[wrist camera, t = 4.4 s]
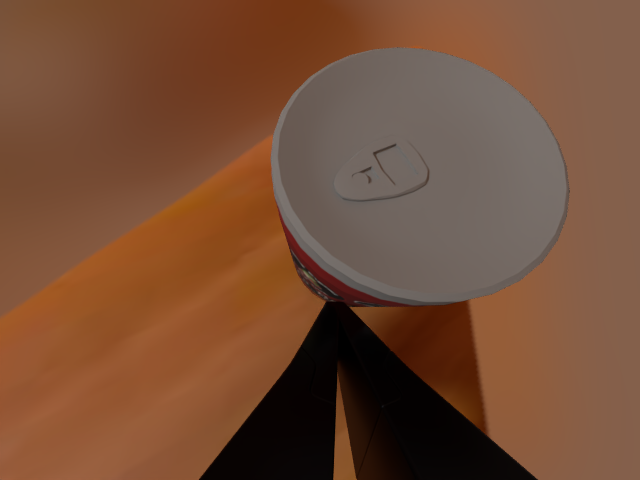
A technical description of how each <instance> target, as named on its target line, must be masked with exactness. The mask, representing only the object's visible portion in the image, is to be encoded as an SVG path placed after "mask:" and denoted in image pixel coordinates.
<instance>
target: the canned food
mask: <svg viewBox="0 0 640 480" xmlns="http://www.w3.org/2000/svg"><path fill="white" fill-rule="evenodd" d="M271 165H272V180H273V188H274V195H275V200H276V203H277V207H278V211H279V216H280V220H281V223H282V226H283V229H284V233H285V236H286V239H287V242H288V245H289V249H290V252H291V255H292V258H293V262H294V265H295V268H296V270H297V273H298V275H299V277H300V279H301V280H302V282H303V283H304V285H305V286H306V287H307V288H308V289H309V290H310V291H311V292H312V293H313V294H314V295H316V296H317V297H319V298H320V299H322V300H324V301H335V302H336V301H341V302H344V303H345V304H346V305H347V306H348V307H406V306H427V305H447V304H451V303H456V302H460V301H464V300H469V299H473V298H477V297H482V296H486V295H490V294H493V293H496V292H498V291H500V290H501V289H503V288H506V287H508V286H510V285H512V284H514V283H516V282H518V281H520V280H521V279H523V278H524V277H525V276H526V275H527V274H528V273H530V272H531V271H532V270H533V269H534V268H535V267H537V266H538V265H539V264H540V263H542V262H543V260H544V259H545V257H546V256H547V255H548V253H549V252H550V250H551V249H552V247H553V246H554V245H555V243H556V242H557V240H558V238H559V235H560V233H561V230H562V228H563V225H564V222H565V220H566V217H567V209H568V201H569V192H570V190H569V182H568V174H567V167H566V163H565V160H564V158H563V154H562V152H561V149H560V146H559V143H558V141H557V139H556V138H555V136H554V134H553V133H552V131H551V129H550V127H549V125H548V124H547V122H546V121H545V119H544V118H543V117H542V116H541V115H540V113H539V112H538V111H537V110H536V108H535V107H534V106H533V105H532V104H531V102H529V101H528V100H527V99H526V98H525V97H524V96H523V95H522V94H521V93H520V92H518V91H517V90H516V89H515V88H514V87H513V86H511V85H510V84H509V83H507V82H506V81H504V80H503V79H501V78H500V77H498V76H497V75H495V74H494V73H492V72H490V71H488V70H486V69H484V68H482V67H480V66H478V65H476V64H474V63H472V62H470V61H467V60H464V59H461V58H458V57H455V56H452V55H449V54H446V53H441V52H436V51H430V50H426V49H417V48H398V47H397V48H387V49H375V50H370V51H366V52H362V53H358V54H353V55H350V56H348V57H345V58H343V59H341V60H338V61H336V62H333V63H331V64H329V65H328V66H326V67H325V68H323V69H321V70H320V71H318V72H317V73H316V74H314V75H312V76H311V77H310V78H309V79H308V80H307V81H306V82H305V83H304V84H303V85H302V86H301V87H300V88H298V90H297V91H295V92H294V94H293V95H292V97H291V98H290V100H289V102H288V103H287V104H286V106H285V108H284V109H283V111H282V112H281V115H280V118H279V121H278V123H277V126H276V129H275V132H274V134H273V143H272V153H271Z"/></svg>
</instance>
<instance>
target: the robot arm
mask: <svg viewBox="0 0 640 480" xmlns="http://www.w3.org/2000/svg"><path fill="white" fill-rule="evenodd" d="M337 370H338V376H339V381H340V387H341V393H342V399H343V405H344V410H345V416H346V422H347V428H348V433H349V439H350V445H351V451H352V457H353V462H354V468H355V474H356V479H357V480H538V479H536V478H535V477H534V476H533V475H532V474H531V473H529V472H528V471H527V470H526V469H525V468H524V467H522V466H521V465H520V464H519V463H518V462H517V461H516V460H514V459H513V458H512V457H511V456H510V455H509V454H507V453H506V452H505V451H504V450H503V449H501V448H500V447H499V446H498V445H497V444H496V443H495V442H494V441H492V440H491V439H490V438H489V437H488V436H487V435H485V434H484V433H483V432H482V431H481V430H480V429H478V428H477V427H476V426H475V425H474V424H473V423H472V422H470V421H469V420H468V419H467V418H466V417H465V416H463V415H462V414H461V413H460V412H459V411H458V410H456V409H455V408H454V407H453V406H452V405H451V404H450V403H448V402H447V401H446V400H445V399H444V398H443V397H441V396H440V395H439V394H438V393H437V392H436V391H434V390H433V389H432V388H431V387H430V386H429V385H428V384H426V383H425V382H424V381H423V380H422V379H421V378H420V377H418V376H417V375H416V374H415V373H414V372H413V371H412V370H411V369H409V368H408V367H407V366H406V365H405V364H404V363H403V362H402V361H401V360H400V359H399V358H398V357H397V356H396V355H395V354H394V353H393V352H392V351H391V350H390V349H389V348H388V347H387V346H386V345H385V344H384V343H383V342H382V341H381V340H380V339H379V338H378V337H377V336H376V334H375V333H374V332H373V331H372V330H371V329H370V328H369V327H368V326H367V325H366V324H365V323H364V322H363V321H362V320H361V319H360V318H359V317H358V316H357V315H356V314H355V313H354V312H353V311H352V310H351V309H350V308H349V307H348V306H347V305H346V304H345V303H344V302H341V301H336V302H335V301H326V303H325V305H324V306H323V308H322V310H321V312H320V313H319V315H318V317H317V319H316V320H315V322H314V324H313V326H312V327H311V329H310V331H309V333H308V334H307V336H306V338H305V340H304V341H303V343H302V345H301V347H300V348H299V350H298V351H297V353H296V355H295V356H294V358H293V359H292V361H291V363H290V364H289V366H288V367H287V368H286V370H285V371H284V372H283V374H282V375H281V376H280V378H279V379H278V380H277V381H276V383H275V384H274V385H273V386H272V388H271V389H270V390H269V392H268V393H267V394H266V395H265V397H264V398H263V399H262V400H261V402H260V403H259V404H258V405H257V407H256V408H255V409H254V410H253V412H252V413H251V414H250V416H249V417H248V418H247V419H246V421H245V422H244V423H243V424H242V426H241V427H240V428H239V429H238V431H237V432H236V433H235V435H234V436H233V437H232V438H231V440H230V441H229V442H228V443H227V445H226V446H225V447H224V448H223V450H222V451H221V452H220V453H219V455H218V456H217V457H216V459H215V460H214V461H213V462H212V464H211V465H210V466H209V467H208V469H207V470H206V471H205V472H204V474H203V475H202V476H201V477H200V479H199V480H333V474H334V447H335V421H336V394H337Z"/></svg>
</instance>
